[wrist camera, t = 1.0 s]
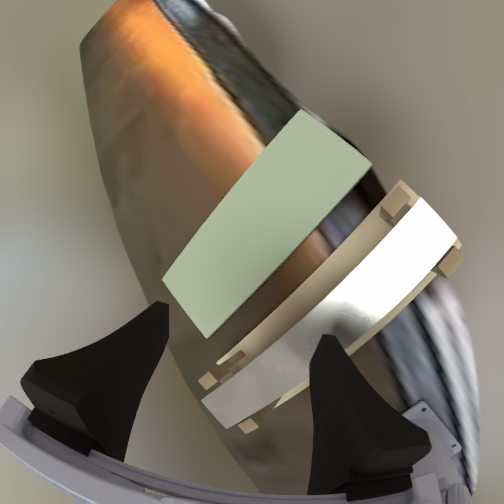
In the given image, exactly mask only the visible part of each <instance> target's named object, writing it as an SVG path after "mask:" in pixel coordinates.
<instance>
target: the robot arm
mask: <svg viewBox="0 0 504 504" xmlns="http://www.w3.org/2000/svg"><path fill="white" fill-rule="evenodd" d="M168 338H169V304H166V303H162V302H158V301H156V302H155V303H153V304H152V305H151V306H149V307H148V308H147V309H146V310H144V311H143V312H142V313H140V314H139V315H138V316H136V317H135V318H134V319H132V320H131V321H129V322H128V323H127V324H125V325H124V326H122V327H121V328H119V329H118V330H116V331H115V332H113V333H111V334H110V335H108V336H106V337H105V338H103V339H101V340H99V341H97V342H95V343H93V344H90V345H88V346H86V347H83V348H81V349H78V350H76V351H73V352H70V353H67V354H64V355H60V356H56V357H52V358H47V359H42V360H36V361H35V362H34V363H33V364H32V365H31V367H30V368H29V369H28V371H27V372H26V373H25V375H24V376H23V377H22V379H21V381H20V383H21V386H22V389H23V390H24V392H25V394H26V395H27V396H28V398H29V399H30V401H31V402H32V404H33V405H34V409H33V410H32V411H31V410H30V409H29V408H28V407H26V406H25V405H24V404H22V403H21V402H20V401H18V400H17V399H15V398H14V397H12V396H9V397H8V399H7V400H6V402H5V403H4V405H3V406H2V408H1V409H0V445H1V446H2V447H3V448H4V449H5V450H6V451H8V452H9V453H10V454H11V455H12V456H13V457H15V458H16V459H17V460H19V461H20V462H21V463H23V464H24V465H25V466H27V467H28V468H30V469H31V470H32V471H34V472H35V473H37V474H38V475H39V476H41V477H42V478H44V479H45V480H47V481H49V482H50V483H52V484H53V485H55V486H57V487H58V488H60V489H62V490H63V491H65V492H67V493H69V494H70V495H72V496H74V497H76V498H78V499H80V500H81V501H83V502H85V503H87V504H473V502H472V499H471V495H470V493H469V490H468V488H467V487H466V486H465V485H461V484H460V483H459V477H458V471H457V466H456V461H455V456H454V455H455V454H457V453H458V452H459V451H461V449H462V447H461V445H460V443H459V442H458V441H457V440H456V438H455V437H454V436H453V435H452V434H451V432H450V431H449V430H448V429H447V427H446V426H445V425H444V424H443V422H442V421H441V420H440V419H439V418H438V416H437V415H436V414H435V413H434V412H433V410H432V409H431V408H430V407H429V406H428V404H427V403H426V402H425V401H420V402H418V403H417V404H415V405H414V406H412V407H411V408H410V409H408V410H407V411H405V412H404V413H402V414H400V413H399V412H397V411H396V410H395V409H394V408H393V407H391V406H390V405H389V404H388V403H387V402H386V401H385V400H384V399H383V398H382V397H381V396H380V395H379V394H378V393H377V392H376V391H375V390H374V389H373V388H372V387H371V385H370V384H369V383H368V382H367V381H366V379H365V378H364V377H363V375H362V374H361V373H360V372H359V370H358V369H357V367H356V366H355V365H354V363H353V362H352V360H351V359H350V357H349V356H348V354H347V353H346V351H345V350H344V348H343V347H342V345H341V344H340V342H339V341H338V339H337V338H336V336H335V335H330V334H322V336H321V339H320V341H319V343H318V345H317V348H316V350H315V352H314V354H313V356H312V358H311V360H310V363H309V385H310V394H311V403H312V412H313V424H314V433H313V453H312V465H311V474H310V480H309V487H308V492H307V495H270V494H257V493H247V492H238V491H231V490H224V489H217V488H212V487H206V486H202V485H197V484H192V483H188V482H184V481H180V480H176V479H172V478H168V477H165V476H162V475H158V474H155V473H152V472H149V471H145V470H143V469H140V468H137V467H134V466H131V465H129V464H126V463H124V458H125V454H126V449H127V445H128V441H129V437H130V433H131V429H132V426H133V423H134V420H135V416H136V413H137V410H138V407H139V404H140V401H141V398H142V395H143V393H144V391H145V389H146V386H147V384H148V382H149V380H150V378H151V376H152V374H153V372H154V370H155V368H156V366H157V364H158V362H159V360H160V358H161V356H162V354H163V352H164V349H165V346H166V344H167V341H168ZM423 408H426V409H425V410H422V409H423ZM454 444H455V445H454ZM140 486H141V487H140ZM143 487H144V488H147V489H150V490H153V491H157V492H160V493H163V494H167V495H171V496H166V497H164V496H160V495H156V494H152V493H148V492H145V489H144V488H143ZM172 496H174V497H172Z"/></svg>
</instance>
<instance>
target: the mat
mask: <svg viewBox="0 0 504 504" xmlns="http://www.w3.org/2000/svg"><path fill="white" fill-rule="evenodd" d="M372 166H373V164H372V163H371V162H370V161H369V160H367V159H366V158H365V157H364V156H363V155H361V154H360V153H359V152H358V151H357V150H355V149H354V148H353V147H352V146H350V145H349V144H348V143H347V142H345V141H344V140H343V139H342V138H340V137H339V136H338V135H336V134H335V133H334V132H332V131H331V130H330V129H328V128H327V127H326V126H324V125H323V124H322V123H320V122H319V121H317V120H316V119H315V118H313V117H312V116H310V115H309V114H307V113H306V112H304V111H303V110H302V109H300V110H299V111H298V113H297V114H296V115H295V116H294V117H293V118H292V119H291V120H290V121H289V122H288V124H287V125H286V126H285V127H284V128H283V129H282V130H281V131H280V132H279V134H278V135H277V136H276V137H275V138H274V139H273V140H272V142H271V143H270V144H269V145H268V146H267V147H266V148H265V150H264V151H263V152H262V153H261V154H260V155H259V157H258V158H257V159H256V160H255V161H254V162H253V164H252V165H251V166H250V167H249V168H248V169H247V171H246V172H245V173H244V174H243V175H242V177H241V178H240V179H239V180H238V181H237V183H236V184H235V185H234V186H233V188H232V189H231V190H230V191H229V192H228V194H227V195H226V196H225V197H224V199H223V200H222V201H221V202H220V204H219V205H218V206H217V207H216V209H215V210H214V211H213V212H212V214H211V215H210V216H209V217H208V219H207V220H206V221H205V223H204V224H203V225H202V226H201V228H200V229H199V230H198V232H197V233H196V234H195V236H194V237H193V238H192V239H191V241H190V242H189V243H188V245H187V246H186V247H185V249H184V250H183V251H182V253H181V254H180V255H179V257H178V258H177V259H176V261H175V262H174V263H173V265H172V266H171V268H170V269H169V270H168V272H167V273H166V274H165V276H164V277H163V279H162V280H163V282H164V283H165V285H166V286H167V287H168V289H169V290H170V292H171V293H172V294H173V296H174V297H175V298H176V300H177V301H178V302H179V304H180V305H181V306H182V308H183V309H184V310H185V312H186V313H187V314H188V316H189V317H190V318H191V320H192V321H193V322H194V324H195V325H196V326H197V327H198V329H199V330H200V331H201V332H202V334H203V335H204V336H205V337H206V339H207V338H209V337H211V336H212V335H213V334H214V333H215V332H216V331H217V330H218V329H219V328H220V327H221V326H222V325H223V324H224V323H225V322H226V321H227V320H228V319H229V318H230V317H231V316H232V315H233V314H234V313H235V312H236V311H237V310H238V309H239V308H240V307H241V306H242V305H243V304H244V303H245V302H246V301H247V300H248V299H249V298H250V297H251V296H252V295H253V294H254V293H255V292H256V291H257V289H258V288H259V287H260V286H261V285H262V284H263V283H264V282H265V281H266V280H267V279H268V278H269V277H270V276H271V275H272V274H273V273H274V272H275V271H276V270H277V269H278V268H279V267H280V266H281V265H282V264H283V263H284V262H285V261H286V260H287V258H288V257H289V256H290V255H291V254H292V253H293V252H294V251H295V250H296V249H297V248H298V247H299V246H300V245H301V244H302V243H303V242H304V241H305V240H306V238H307V237H308V236H309V235H310V234H311V233H312V232H313V231H314V230H315V229H316V228H317V227H318V226H319V225H320V223H321V222H322V221H323V220H324V219H325V218H326V217H327V216H328V215H329V214H330V213H331V212H332V210H333V209H334V208H335V207H336V206H337V205H338V204H339V203H340V202H341V201H342V200H343V198H344V197H345V196H346V195H347V194H348V193H349V192H350V191H351V190H352V189H353V187H354V186H355V185H356V184H357V183H358V182H359V181H360V180H361V178H362V177H363V176H364V175H365V174H366V173H367V172H368V171H369V169H370V168H371V167H372Z"/></svg>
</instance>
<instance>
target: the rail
mask: <svg viewBox="0 0 504 504" xmlns="http://www.w3.org/2000/svg"><path fill="white" fill-rule="evenodd" d="M456 239H457V236H456V235H455V234H454V233H453V231H452V230H451V229H450V228H449V227H448V226H447V224H445V222H444V221H443V220H442V219H441V218H440V217H439V216H438V214H437V213H436V212H435V211H434V210H433V209H432V208H431V207H430V206H429V205H428V204H427V203H426V202H425V201H424V200H423V199H422V198H420V199H419V200H418V201H417V202H416V203H415V204H414V205H413V206H412V207H411V208H410V209H409V211H408V212H407V213H406V214H405V215H404V216H403V218H402V219H401V220H400V221H399V222H398V223H397V224H396V225H395V226H394V228H393V229H392V230H391V231H390V232H389V233H388V234H387V235H386V236H385V237H384V238H383V240H382V241H381V242H380V243H379V244H378V245H377V246H376V247H375V248H374V249H373V250H372V251H371V252H370V253H369V254H368V255H367V256H366V257H365V258H364V260H363V261H362V262H361V263H360V264H359V265H358V266H357V267H356V268H355V269H354V270H353V271H352V272H351V273H350V274H349V275H348V276H347V277H346V278H345V279H344V280H343V281H342V282H341V283H339V284H338V285H337V286H336V287H335V288H334V289H333V290H332V291H331V292H330V293H329V294H328V295H327V296H326V297H325V298H324V299H323V300H322V301H321V302H319V303H318V304H317V305H316V306H315V307H314V308H313V309H312V310H311V311H310V312H309V313H308V314H306V315H305V316H304V317H303V318H302V319H301V320H300V321H299V322H297V323H296V324H295V325H294V326H293V327H292V328H291V329H290V330H288V331H287V332H286V333H285V334H284V335H283V336H281V337H280V338H279V339H278V340H277V341H276V342H274V343H273V344H272V345H271V346H270V347H268V348H267V349H266V350H265V351H264V352H262V353H261V354H260V355H259V356H257V357H256V358H255V359H254V360H253V361H251V362H250V363H249V364H248V365H246V366H245V367H244V368H243V369H241V370H240V371H239V372H237V373H236V374H235V375H234V376H232V377H231V378H230V379H228V380H227V381H226V382H224V383H223V384H222V385H220V386H219V387H218V388H217V389H215V390H214V391H213V392H211V393H210V394H209V395H207V396H206V397H205V398H203V399H202V400H201V401H202V402H203V404H204V405H205V406H206V407H207V408H208V409H209V410H210V412H211V413H212V414H213V415H214V416H215V417H216V418H217V419H218V421H219V422H220V423H221V424H222V425H223V426H224V427H225V428H226V429H227V428H229V427H231V426H233V425H234V424H236V423H238V422H240V421H242V420H243V419H245V418H247V417H248V416H250V415H252V414H254V413H255V412H257V411H259V410H260V409H262V408H263V407H265V406H267V405H268V404H270V403H271V402H273V401H275V400H276V399H278V398H279V397H281V396H282V395H284V394H285V393H287V392H288V391H290V390H291V389H293V388H294V387H296V386H297V385H299V384H300V383H301V382H303V381H304V380H306V379H307V378H309V363H310V360H311V358H312V356H313V354H314V352H315V350H316V348H317V345H318V343H319V341H320V339H321V336H322V334H330V335H335V336H336V338H337V339H338V341H339V342H340V344H341V345H342V347H343V348H344V350H345V349H347V348H348V347H349V346H350V345H351V344H353V343H354V342H355V341H356V340H357V339H359V338H360V337H361V336H362V335H363V334H365V333H366V332H367V331H368V330H369V329H370V328H371V327H373V326H374V325H375V324H376V323H377V322H378V321H379V320H380V319H381V318H383V317H384V316H385V315H386V314H387V313H388V312H389V311H390V310H391V309H392V308H393V307H394V306H395V305H396V304H397V303H398V302H400V301H401V300H402V299H403V298H404V297H405V296H406V295H407V294H408V293H409V292H410V291H411V290H412V289H413V288H414V287H415V286H416V284H417V283H418V282H419V281H420V280H421V279H422V278H423V277H424V276H425V275H426V274H427V273H428V272H429V271H430V270H431V268H432V267H433V266H434V265H435V264H436V263H437V262H438V261H439V260H440V258H441V257H442V256H443V255H444V254H445V253H446V251H447V250H448V249H449V248H450V247H451V245H452V244H453V243H454V242H455V241H456Z"/></svg>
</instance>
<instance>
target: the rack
mask: <svg viewBox="0 0 504 504" xmlns="http://www.w3.org/2000/svg"><path fill="white" fill-rule="evenodd" d="M419 199H420V197H419V196H418V195H417V194H416V193H415V192H414V191H413V190H411V188H409V187H408V186H407V185H406V184H405V183H404V182H403V181H402V180H401V179H400V180H399V181H398V182H397V184H396V185H395V186H394V187H393V188H392V189H391V190H390V192H389V193H388V194H387V195H386V196H385V197H384V198H383V199H382V201H381V202H380V203H379V204H378V205H377V206H376V207H375V208H374V210H373V211H372V212H371V213H370V214H369V215H368V216H367V217H366V218H365V219H364V220H363V222H362V223H361V224H360V225H359V226H358V227H357V228H356V229H355V230H354V231H353V232H352V233H351V234H350V235H349V237H348V238H347V239H346V240H345V241H344V242H343V243H342V244H341V245H340V246H339V247H338V248H337V249H336V250H335V251H334V252H333V253H332V254H331V255H330V256H329V257H328V258H327V259H326V260H325V261H324V262H323V263H322V264H321V265H320V267H319V268H318V269H317V270H316V271H315V272H314V273H313V274H312V275H311V276H310V277H309V278H307V279H306V280H305V281H304V282H303V283H302V284H301V285H300V286H299V287H298V288H297V289H296V290H295V291H294V292H293V293H292V294H291V295H290V296H289V297H288V298H287V299H286V300H285V301H284V302H283V303H282V304H281V305H280V306H279V307H278V308H276V309H275V310H274V311H273V312H272V313H271V314H270V315H269V316H268V317H267V318H266V319H265V320H264V321H263V322H261V323H260V324H259V325H258V326H257V327H256V328H255V329H254V330H253V331H252V332H251V333H249V334H248V335H247V336H246V337H245V338H244V339H243V340H242V341H241V342H239V343H238V344H237V345H236V346H235V347H234V348H233V349H231V350H230V351H229V352H228V353H227V354H226V355H225V356H223V357H222V358H221V359H220V360H219V361H218V362H217V364H218V366H217V367H215V368H214V369H212V370H211V371H209V372H208V373H207V374H205V375H204V376H203V377H202V378H201V379H199V380H198V381H199V382H200V384H201V385H202V386H203V387H204V388H205V390H207V389H208V388H210V387H211V386H213V385H214V384H215V383H217V382H218V381H220V382H221V383H222V384H223V383H224V382H226V381H227V380H228V379H230V378H231V377H232V376H234V375H235V374H236V373H237V372H239V371H240V370H241V369H243V368H244V367H245V366H246V365H248V364H249V363H250V362H251V361H253V360H254V359H255V358H256V357H257V356H259V355H260V354H261V353H262V352H264V351H265V350H266V349H267V348H268V347H270V346H271V345H272V344H273V343H274V342H276V341H277V340H278V339H279V338H280V337H281V336H283V335H284V334H285V333H286V332H287V331H288V330H290V329H291V328H292V327H293V326H294V325H295V324H296V323H297V322H299V321H300V320H301V319H302V318H303V317H304V316H305V315H306V314H308V313H309V312H310V311H311V310H312V309H313V308H314V307H315V306H316V305H317V304H318V303H319V302H321V301H322V300H323V299H324V298H325V297H326V296H327V295H328V294H329V293H330V292H331V291H332V290H333V289H334V288H335V287H336V286H337V285H338V284H339V283H341V282H342V281H343V280H344V279H345V278H346V277H347V276H348V275H349V274H350V273H351V272H352V271H353V270H354V269H355V268H356V267H357V266H358V265H359V264H360V263H361V262H362V261H363V260H364V258H365V257H366V256H367V255H368V254H369V253H370V252H371V251H372V250H373V249H374V248H375V247H376V246H377V245H378V244H379V243H380V242H381V241H382V240H383V238H384V237H385V236H386V235H387V234H388V233H389V232H390V231H391V230H392V229H393V228H394V226H395V225H396V224H397V223H398V222H399V221H400V220H401V219H402V218H403V216H404V215H405V214H406V213H407V212H408V211H409V209H410V208H411V207H412V206H413V205H414V204H415V203H416V202H417V201H418V200H419ZM461 246H462V244H461V243H460V242H459V241H458V239H456V241H455V242H454V243H453V244H452V245H451V247H450V248H449V249H448V250H447V251H446V253H445V254H444V255H443V256H442V257H441V258H440V260H439V261H438V262H437V263H436V264H435V265H434V266H433V267H432V268H431V270H430V271H429V272H428V273H427V274H426V275H425V276H424V277H423V278H422V279H421V280H420V281H419V282H418V283H417V284H416V286H415V287H414V288H413V289H412V290H411V291H410V292H409V293H408V294H407V295H406V296H405V297H404V298H403V299H402V300H401V301H400V302H398V303H397V304H396V305H395V306H394V307H393V308H392V309H391V310H390V311H389V312H388V313H387V314H386V315H385V316H384V317H383V318H381V319H380V320H379V321H378V322H377V323H376V324H375V325H374V326H373V327H371V328H370V329H369V330H368V331H367V332H366V333H365V334H363V335H362V336H361V337H360V338H359V339H357V340H356V341H355V342H354V343H353V344H351V345H350V346H349V347H348V348H347V349H345V351H346V353H347V354H348V356H350V355H351V354H352V353H353V352H355V351H356V350H357V349H358V348H360V347H361V346H362V345H363V344H364V343H366V342H367V341H368V340H369V339H370V338H372V337H373V336H374V335H375V334H376V333H377V332H379V331H380V330H381V329H382V328H383V327H384V326H385V325H386V324H387V323H389V322H390V321H391V320H392V319H393V318H394V317H395V316H396V315H397V314H398V313H399V312H400V311H401V310H403V309H404V308H405V307H406V306H407V305H408V304H409V303H410V302H411V301H412V300H413V299H414V298H415V297H416V296H417V295H418V294H419V293H420V292H421V291H422V290H423V289H424V288H425V286H426V285H427V284H428V283H429V282H430V281H431V280H432V279H433V278H434V277H435V276H436V275H437V274H439V275H441V276H443V277H445V278H449V277H450V276H451V275H452V274H453V272H454V271H455V270H456V269H457V268H458V267H459V265H460V264H461V263H462V262H463V261H464V259H465V257H464V256H463V255H462V254H461V252H460V251H459V250H458V249H459V248H460V247H461ZM308 386H309V378H307V379H306V380H304V381H303V382H301V383H300V384H299V385H297V386H296V387H294V388H293V389H291V390H290V391H288V392H287V393H285V394H284V395H282V396H281V397H279V398H278V399H276V400H275V401H273V402H271V403H270V404H268V405H267V406H265V407H263V408H262V409H260V410H259V411H257V412H255V413H254V414H252V415H250V416H248V417H247V418H245V419H243V420H242V421H241V422H240V423H239V424H238V426H239V427H240V428H241V429H242V431H243V432H244V433H245V434H247V433H248V432H250V431H252V430H254V429H256V428H258V427H259V426H260V425H261V424H262V423H263V421H264V420H265V419H266V417H267V416H268V415H269V414H270V412H271V411H272V410H273V409H274V408H275V407H277V406H279V405H280V404H282V403H283V402H285V401H287V400H288V399H290V398H291V397H293V396H294V395H296V394H297V393H299V392H300V391H302V390H303V389H305V388H306V387H308Z"/></svg>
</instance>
